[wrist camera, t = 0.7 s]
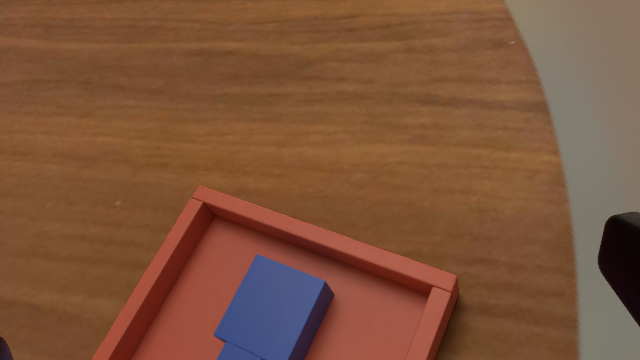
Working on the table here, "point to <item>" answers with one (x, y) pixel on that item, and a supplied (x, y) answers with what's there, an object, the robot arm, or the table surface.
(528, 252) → the table surface
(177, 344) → the red tray
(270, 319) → the blue stepped bar
